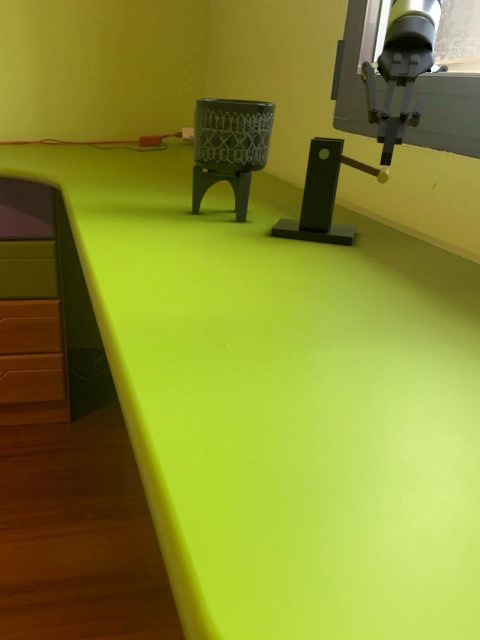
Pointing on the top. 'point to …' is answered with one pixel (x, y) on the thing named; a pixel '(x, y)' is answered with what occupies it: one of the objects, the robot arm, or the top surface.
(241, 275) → the top surface
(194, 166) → the planter
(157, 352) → the top surface
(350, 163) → the lever
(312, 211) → the bracket
